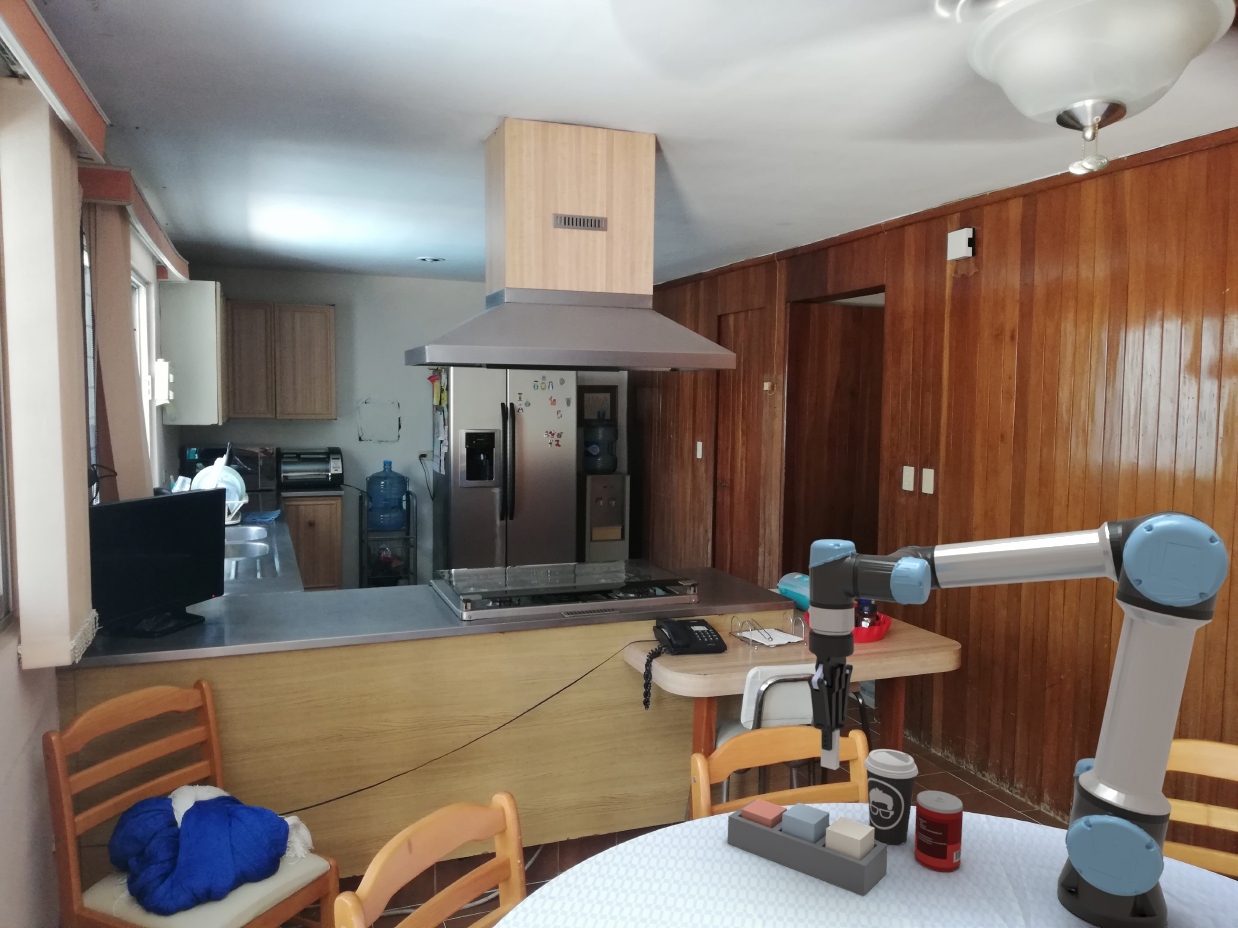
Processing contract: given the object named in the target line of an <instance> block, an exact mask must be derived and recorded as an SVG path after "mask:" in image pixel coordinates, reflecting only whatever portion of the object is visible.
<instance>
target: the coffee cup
mask: <svg viewBox="0 0 1238 928" xmlns="http://www.w3.org/2000/svg"><path fill="white" fill-rule="evenodd" d="M863 766H864V768H865V769H866V778H867V795H868V796H867V800H868V819H869V826H871V827H874V828H875V829H874V840H875V841H878V842H881V843H884V844H887V845H889V846H891V845H892V846H899V845H903V844H905V843H906V842H907V838H908V832H909V823H910V816H911V810H912V809H911V808H912V802H913V801H912V800H913V793H914V786H915V777H916V776H917V775H919V769H918V767H917V764H916V763H915V759H914V758H913V756H911V755H909V754H908V753H905V752H902V751H899V750H896V749H889V748H888V749H886V748H879V749H873V750H871V751H870V752H869V754H868V756H867V757H866V758H865V760H864V763H863Z"/></svg>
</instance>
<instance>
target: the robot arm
mask: <svg viewBox="0 0 1238 928" xmlns="http://www.w3.org/2000/svg"><path fill="white" fill-rule="evenodd" d="M809 551H810V552H809V553H810V554H809V564H808V571H809V573H808V575H809V579H808V580H809V581H808V582H809V584H808V585H809V608H808V609H807V612H808V614H809V618H808V620H809V621H808V623H809V625H808V626H809V628H810V630H809V632H808V651H809V652H810V653H811V654H813V655H815V657H816V660H815V661H816V662H815V665H814V670H815V674H814V675H813V676H811V675H809V676H808V677H807V683H808V686H809V690H810V698H811V707H812V717H813V724H814V725H813V726H814V728H815V729H817V730H819V731H820V767H823V768H826V769H830V770H834V771H836V770H837V769H839V768H840V738H841V737H840V733H841V732H840V730H846V726H847V724H844V723H846V720H847V713H848V704H849V703H848V702H849V694H850V685H851V679H852V678H851V677H852V674H853V670H854V665H852V664H848V663H847V657H851V656H852V655H853V654H854V651H855V634H854V633H853V631H854V629H855V599H858V600H870V601H871V600H872V601H876V602H877V601H879V602H887V603H897V604H901V605H905V606H906V605H909V604H910V605H922V604H926V602H927V601H928V599H929V596H930V595H931V594H930V593H931V590H939V589H947V588H960V587H961V588H962V587H977V586H979V587H980V586H992V585H1005V584H1008V585H1009V584H1020V583H1034V582H1046V581H1047V582H1048V581H1049V582H1050V581H1063V580H1064V581H1065V580H1077V579H1078V580H1079V579H1091V578H1104V577H1106V578H1108V579H1110V580H1112V581H1113V582H1114V583H1118V584H1117V589H1116V594H1115V598H1114V600H1115V601H1116V602H1117V604H1118V605H1119V607H1120V608H1121V609H1122V611H1123V613H1124V617H1123V621H1122V626H1121V630H1120V635H1119V636H1120V637H1119V641H1118V645H1117V650H1116V656H1115V660H1114V665H1113V670H1112V675H1111V680H1110V684H1109V685H1110V686H1109V689H1108V695H1107V698H1106V699H1107V700H1106V704H1105V709H1104V712H1103V713H1104V714H1103V719H1102V723H1101V729H1100V733H1099V738H1098V744H1097V747H1096V748H1097V749H1096V753H1095V758H1089V757H1087V758H1081V759H1079V760H1078V761H1077V762H1076V765H1075V772H1074V773H1073V778H1074V789H1073V801H1072V807H1071V812H1070V818H1069V823H1068V829H1067V831H1066V834H1065V845H1066V850H1067V851H1066V852H1067V855H1068V856H1067V858H1066V860H1065V862H1064V864H1063V867H1062V869H1061V871H1060V873H1059V876H1058V879H1057V892H1056V895H1057V898H1058V899H1059V902H1060V903H1061V904H1062V905H1063V906H1064V907H1065V908H1066V910H1068V911H1070V912H1071V914H1072V913H1073V914H1074V915H1075V916H1077V917H1079V918H1080V919H1082V920H1084V921H1086V922H1088V923H1091V924H1093V925H1095V926H1098V927H1100V928H1166V927H1167V926H1168V925H1167V924H1168V906H1167V902H1166V900H1165V896H1164V893H1163V890H1162V889H1163V888H1162V887H1161V883H1160V878H1161V876H1162V875H1163V871H1164V869H1165V860H1164V855H1163V851H1164V846H1165V841H1166V835H1167V830H1168V825H1169V822H1170V817H1171V812H1172V804H1171V803H1170V801H1169V800H1168V799H1167V798H1166V796H1165V794H1164V793H1163V792H1162V791H1163V787H1164V781H1165V777H1166V772H1167V767H1168V763H1169V758H1170V753H1171V748H1172V743H1173V740H1174V735H1175V730H1176V726H1177V721H1178V716H1179V710H1180V706H1181V702H1182V697H1183V692H1184V687H1185V684H1186V680H1187V679H1186V678H1187V674H1188V671H1189V669H1188V668H1189V665H1190V664H1189V663H1190V660H1191V656H1192V651H1193V647H1194V641H1195V637H1196V632H1197V630H1198V629H1200V628H1201V627H1202V628H1203V626H1205V625H1208V624H1210V623H1211V622H1212V621H1213V619H1214V618H1213V616H1214V612H1215V609H1216V604H1217V600H1218V594H1219V590H1220V589H1221V587H1223V585H1224V581H1226V579H1227V577H1228V573H1229V568H1230V567H1229V566H1230V562H1229V560H1230V559H1229V554H1228V552H1227V548H1226V546H1225V543H1224V542H1223V540H1222V539H1221V537H1220V536H1219V535H1218V533H1217V532H1216V531H1215V530H1214V529H1213V528H1211V527H1210V526H1209V525H1208V524H1206V523H1205V522H1204V521H1203V520H1201V519H1200V518H1197V517H1196V516H1194V515H1192V514H1189V513H1186V512H1184V511H1183V512H1182V511H1176V510H1162V511H1158V512H1157V511H1156V512H1153V513H1149V514H1145V515H1140V516H1137V517H1132V518H1127V519H1121V520H1111V521H1105V522H1104V523H1102V524H1101V526H1100V527H1099V528H1097V529H1086V530H1075V531H1068V532H1066V531H1065V532H1056V533H1048V534H1037V535H1027V536H1016V537H1008V538H1007V537H1006V538H999V539H998V538H995V539H986V540H978V541H967V542H957V543H948V544H947V543H946V544H938V545H937V544H936V545H932V546H931V545H930V546H929V545H927V546H918V545H917V546H916V545H912V546H904V547H901V548H900V549H898V550H897V551H895V552H892V553H890V554H888V555H877V554H875V555H873V554H863V553H857V550H856V546H855V543H854V542H853V541H851V540H844V539H831V538H830V539H827V538H826V539H819V540H817V539H816V540H815V541H813V542H812V544H811V545H810V550H809ZM842 722H843V723H842Z"/></svg>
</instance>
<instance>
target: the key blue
mask: <svg viewBox="0 0 1238 928" xmlns="http://www.w3.org/2000/svg"><path fill="white" fill-rule="evenodd" d="M829 825H830V812H828V811H826V810H822V809H819V808H817V807H813V806H810V805H807V804H804V803H801V802H797V803H796V804H794V805H793V806H791V807H790V808H789V809H788V808H787V811H786V812H784V813H783V814H782V832H783V833H786V834H789V835H792V836H794V837H797V838H800V839H803V840H805V841H808V842H811V843H814V844H815V843H817V842H818V841H819V840H820V839H822V838H823V837H824V836H825V835H826V828H828V827H829Z"/></svg>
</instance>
